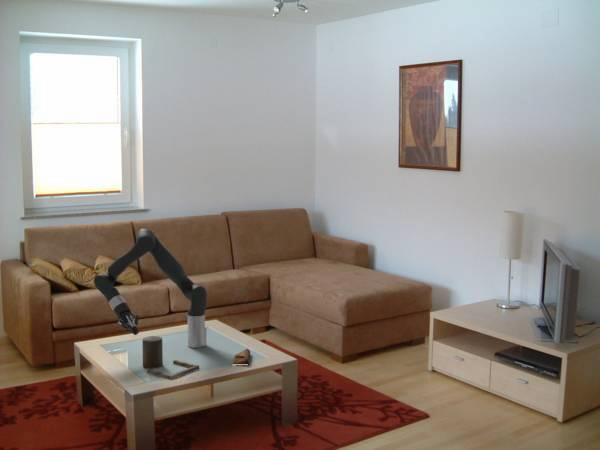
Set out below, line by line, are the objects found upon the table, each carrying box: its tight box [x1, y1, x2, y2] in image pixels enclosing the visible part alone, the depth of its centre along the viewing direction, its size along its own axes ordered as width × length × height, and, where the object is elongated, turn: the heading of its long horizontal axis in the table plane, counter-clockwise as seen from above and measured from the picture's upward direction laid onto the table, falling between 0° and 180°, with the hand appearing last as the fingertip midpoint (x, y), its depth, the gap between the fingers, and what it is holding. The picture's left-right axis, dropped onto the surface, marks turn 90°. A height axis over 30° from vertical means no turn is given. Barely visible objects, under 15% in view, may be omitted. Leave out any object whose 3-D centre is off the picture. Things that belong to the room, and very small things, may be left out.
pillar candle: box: [142, 335, 164, 369], centre depth 350 cm, size 10×10×15 cm
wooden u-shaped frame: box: [146, 359, 200, 380], centre depth 343 cm, size 16×19×2 cm
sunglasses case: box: [232, 348, 251, 365], centre depth 360 cm, size 18×7×7 cm
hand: (136, 333), depth 355 cm, fingers closed
